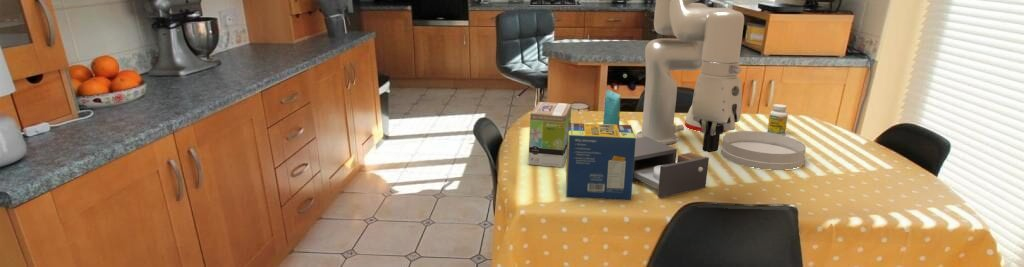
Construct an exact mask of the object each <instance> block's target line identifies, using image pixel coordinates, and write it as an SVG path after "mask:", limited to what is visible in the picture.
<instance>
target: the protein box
mask: <svg viewBox="0 0 1024 267" xmlns="http://www.w3.org/2000/svg"><path fill="white" fill-rule="evenodd" d="M636 138H637V137H636V136H635V133H634V131H633V128H632V125H631V124H619V125H610V124H603V123H602V124H601V123H576V122H571V123H569V129H568V145H567V157H566V169H565V170H566V172H565V177H566V178H565V194H566V195H565V197H566V198H577V199H578V198H579V199H580V198H581V199H594V200H595V199H597V200H612V201H613V200H615V201H631V200H632V194H633V193H632V192H633V191H632V190H633V183H632V181H633V168H634V155H635V142H636Z"/></svg>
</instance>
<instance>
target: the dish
mask: <svg viewBox="0 0 1024 267" xmlns="http://www.w3.org/2000/svg"><path fill="white" fill-rule="evenodd" d="M806 148H807V146H806V145H805V143H803V142H802V141H800V140H798V139H796V138H792V137H789V136H786V135H779V134H774V133H768V132H767V131H755V130H754V131H753V130H738V131H733V132H732V131H730V132H728V133H725V134H724V135H723V136H722V144H721V148H720V155H721V156H722V157H723V159H726V160H727V161H729V162H731V163H734V164H736V165H739V164H740V165H739V166H742V165H744V166H743V167H746V166H747V168H750V167H754V168H753V169H756V168H760V169H759V170H763V169H771V170H770V171H774V170H784V171H786V170H785V169H793V168H797V167H800V166H801V165H803V166H804V164H803V163H805V158H806V156H805V155H806V154H805V153H806V150H807V149H806ZM800 168H801V167H800ZM793 170H794V169H793Z"/></svg>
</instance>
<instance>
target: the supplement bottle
mask: <svg viewBox="0 0 1024 267" xmlns="http://www.w3.org/2000/svg"><path fill="white" fill-rule="evenodd" d="M788 117H789V114H788V112H787V105H785V104H777V103H776V104H772V110H771V111H770V112H769V117H768V122H767V124H768V125H767V131H766V132H767V133H774V134H779V135H783V136H786V130H787V123H788Z"/></svg>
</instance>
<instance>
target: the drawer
mask: <svg viewBox="0 0 1024 267" xmlns="http://www.w3.org/2000/svg"><path fill="white" fill-rule="evenodd" d="M709 162H710V158H709V157H708V156H703V157H702V158H697V159H692V160H687V161H682V162H677V161H676V163H672V164H665V165H663V166H660V177H659V180H657V179H655V178H654V177H653V171H654V167H650V168H645V169H640V170H635V171H634V176H633V177H634V178H636V179H638V180H640V182H643V183H644V184H647V185H649V186H650V187H652V188H654V189H657V192H658V193H657V197H658V198H659V199H663V198H668V197H672V196H676V195H680V194H683V193H684V194H685V193H688V192H692V191H697V190H700V189H704V188H706V187H707V179H708V178H707V177H708V170H709Z"/></svg>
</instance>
